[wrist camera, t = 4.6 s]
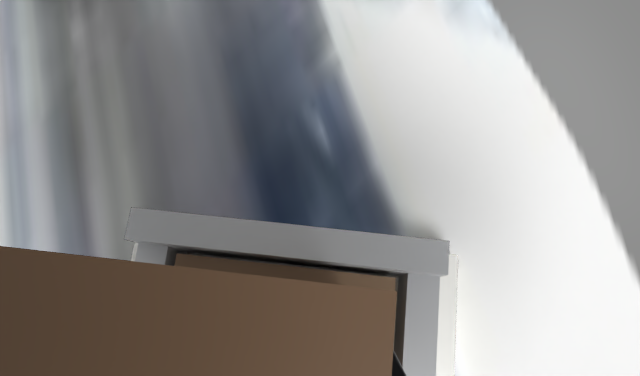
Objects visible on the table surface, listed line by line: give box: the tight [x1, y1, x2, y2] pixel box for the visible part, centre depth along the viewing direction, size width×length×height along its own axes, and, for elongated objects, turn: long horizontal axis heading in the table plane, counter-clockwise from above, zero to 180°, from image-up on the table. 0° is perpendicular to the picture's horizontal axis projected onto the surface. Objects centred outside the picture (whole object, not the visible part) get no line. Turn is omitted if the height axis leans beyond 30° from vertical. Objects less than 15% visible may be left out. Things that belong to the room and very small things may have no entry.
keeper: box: [0, 246, 397, 376], centre depth 8 cm, size 5×7×13 cm
